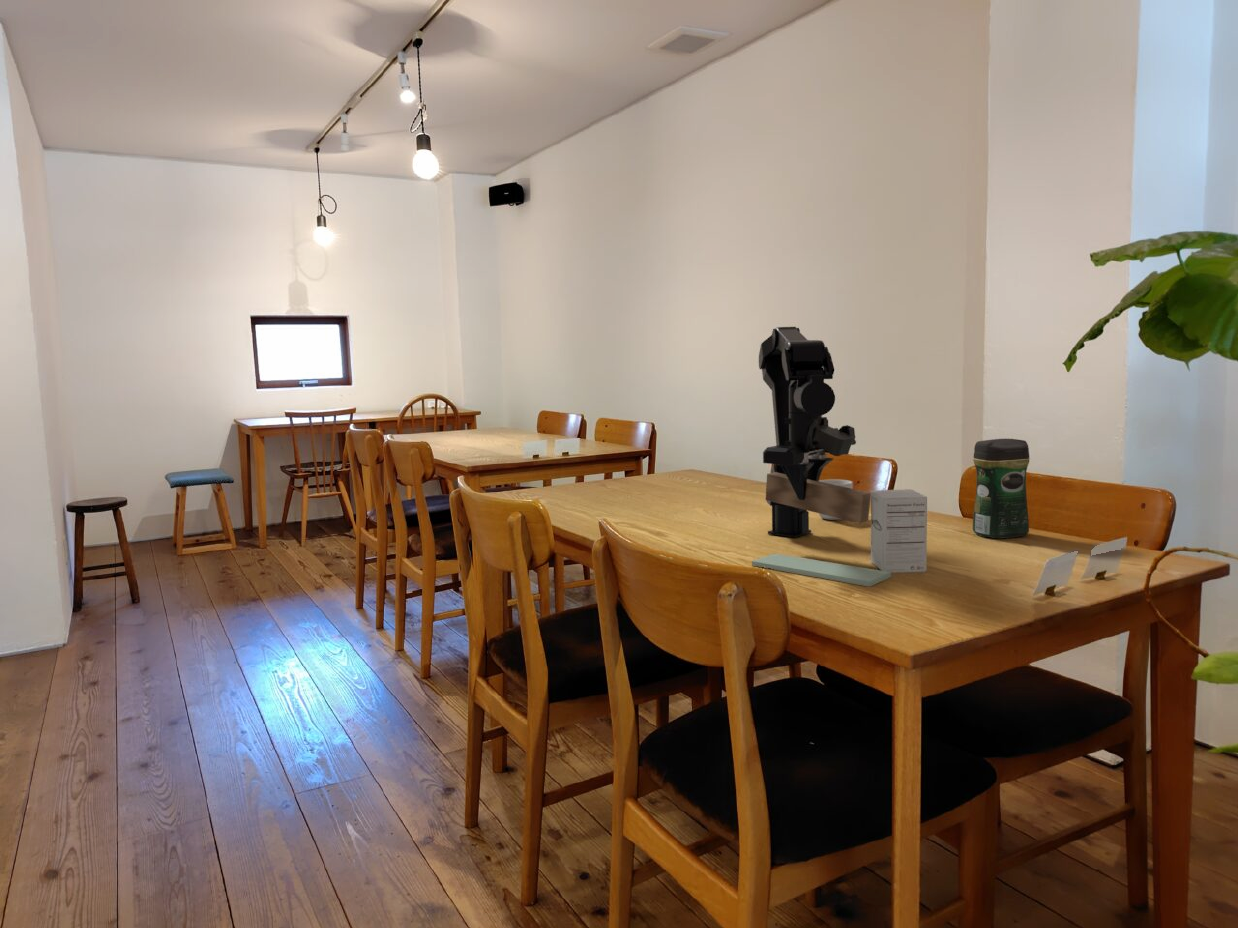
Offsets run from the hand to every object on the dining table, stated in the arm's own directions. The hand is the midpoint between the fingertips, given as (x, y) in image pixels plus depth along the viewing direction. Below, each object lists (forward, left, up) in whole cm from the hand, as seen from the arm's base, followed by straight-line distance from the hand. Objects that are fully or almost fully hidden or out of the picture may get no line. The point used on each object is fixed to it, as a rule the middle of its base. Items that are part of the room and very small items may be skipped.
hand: (806, 498), depth 151 cm
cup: (-11, +30, -10) cm, 34 cm away
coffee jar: (+22, +34, -10) cm, 42 cm away
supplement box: (+18, 0, -10) cm, 20 cm away
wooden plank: (+2, 0, -2) cm, 3 cm away
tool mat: (+9, -10, -10) cm, 17 cm away
